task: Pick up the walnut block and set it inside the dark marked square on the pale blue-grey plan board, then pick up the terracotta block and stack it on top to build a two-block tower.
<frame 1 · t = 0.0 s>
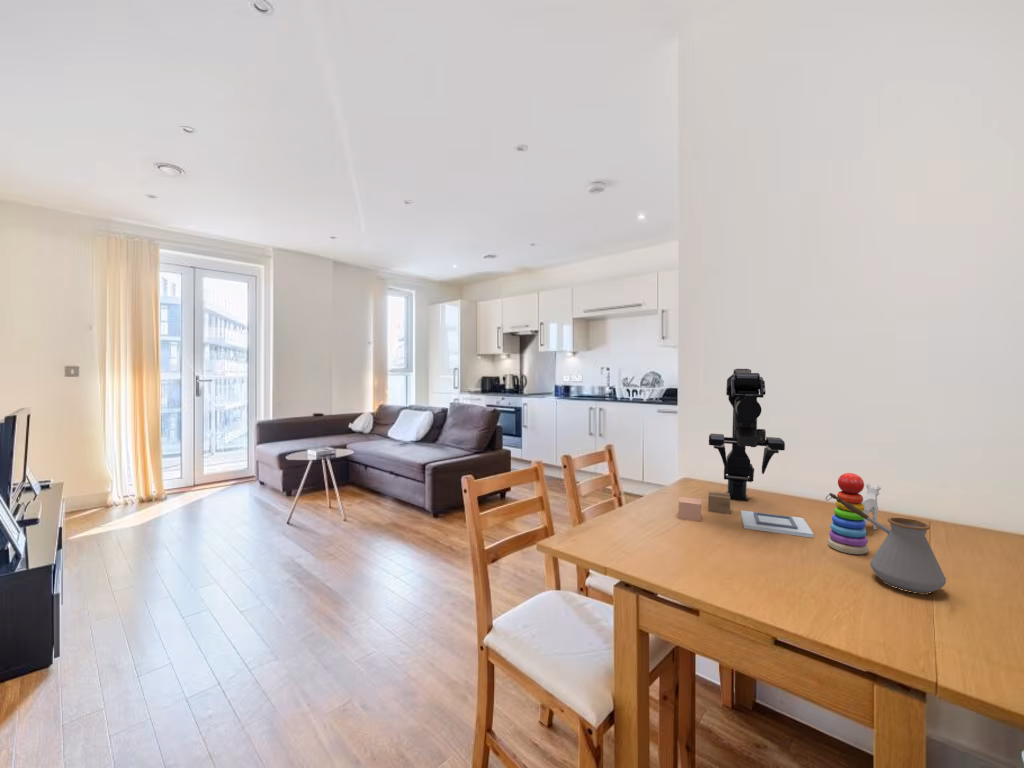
hand: (744, 471, 125), 15 cm above the table, tool pointing down, fingers open, 9 cm apart
stacking toy: (847, 549, 107), on the table
terracotta block: (689, 517, 130), on the table
coffee pot: (877, 575, 94), on the table
plan board: (774, 524, 124), on the table
cat figurine: (860, 531, 120), on the table
walnut block: (718, 510, 137), on the table
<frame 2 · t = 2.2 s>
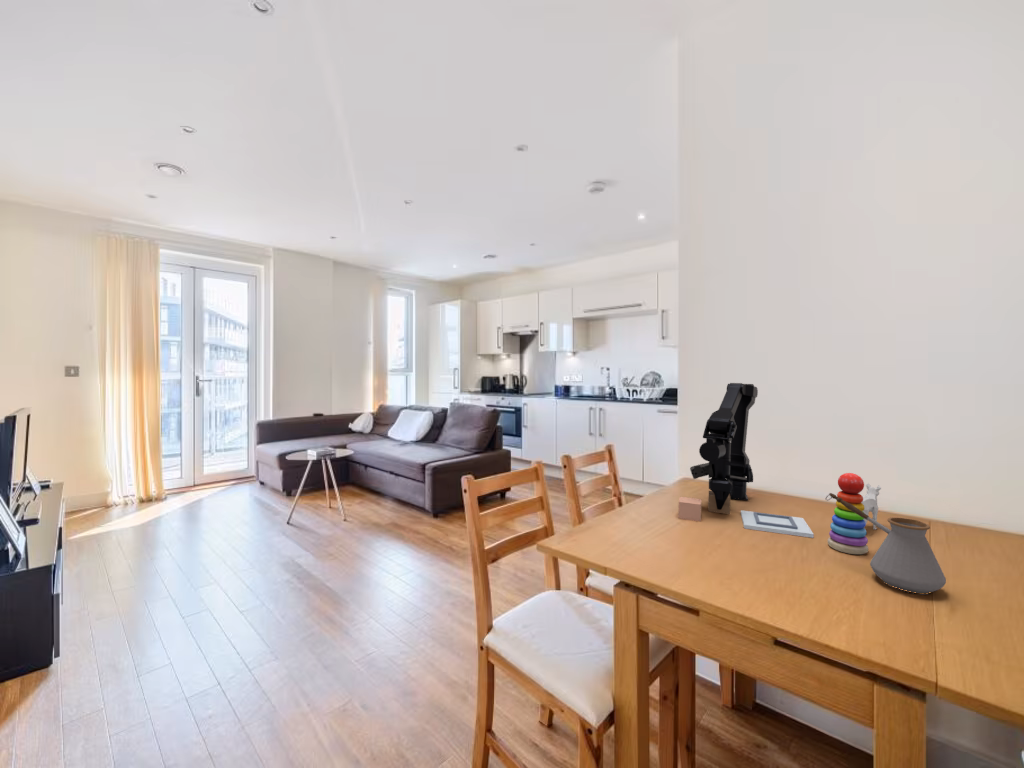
hand: (718, 506, 137), 1 cm above the table, tool pointing down, fingers closed on walnut block, 6 cm apart
walnut block: (718, 509, 137), on the table, touching gripper
everything else where it was.
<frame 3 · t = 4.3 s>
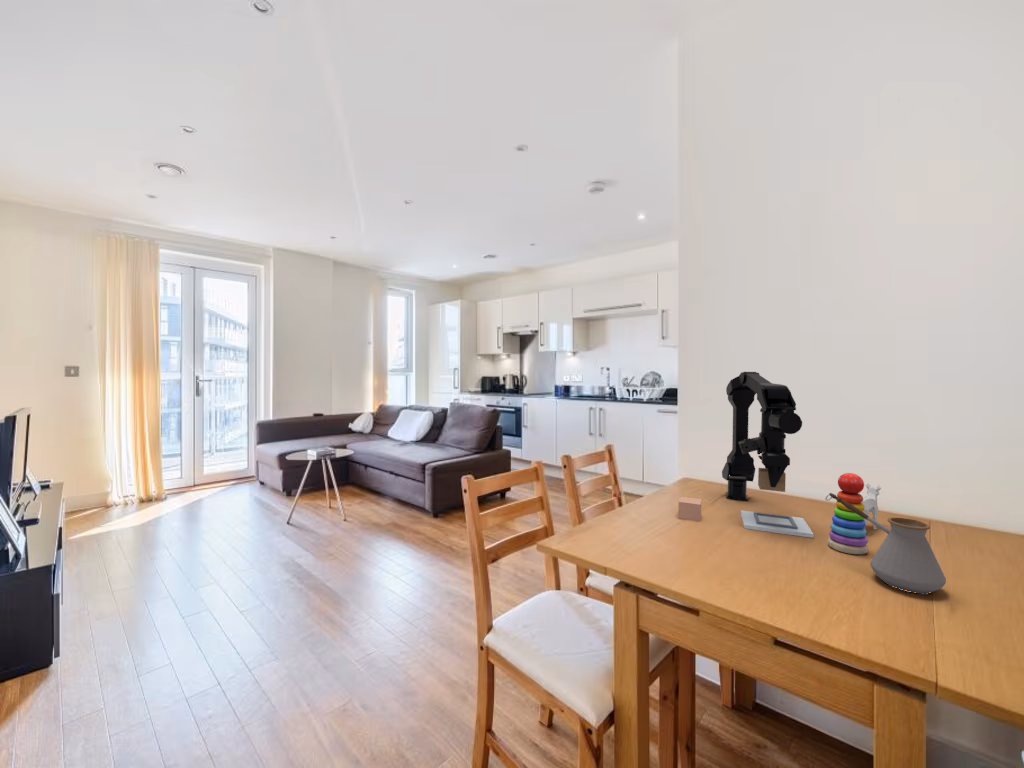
hand: (771, 484, 124), 11 cm above the table, tool pointing down, fingers closed on walnut block, 6 cm apart
walnut block: (771, 488, 124), point 10 cm above the table, touching gripper
everything else where it was.
when the fingers open (3 cm above the table, at t = 6.3 s): walnut block drops 1 cm, resting on plan board.
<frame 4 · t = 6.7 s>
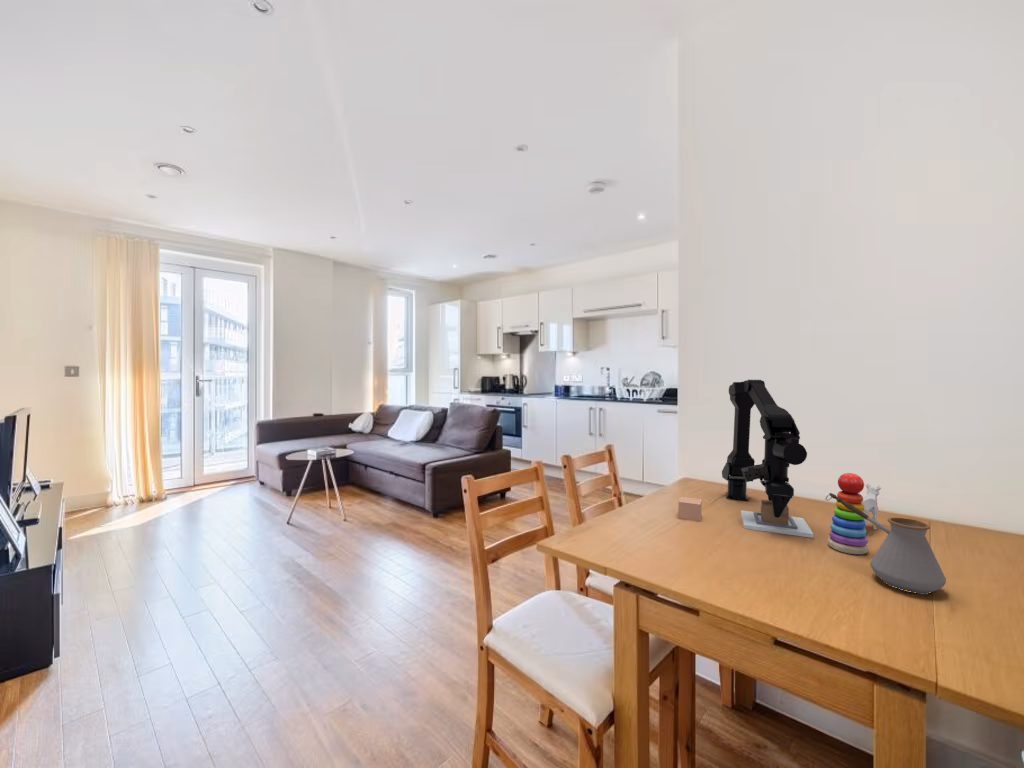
hand: (774, 512, 124), 3 cm above the table, tool pointing down, fingers open, 9 cm apart
walnut block: (774, 521, 124), point 1 cm above the table, touching plan board
everything else where it was.
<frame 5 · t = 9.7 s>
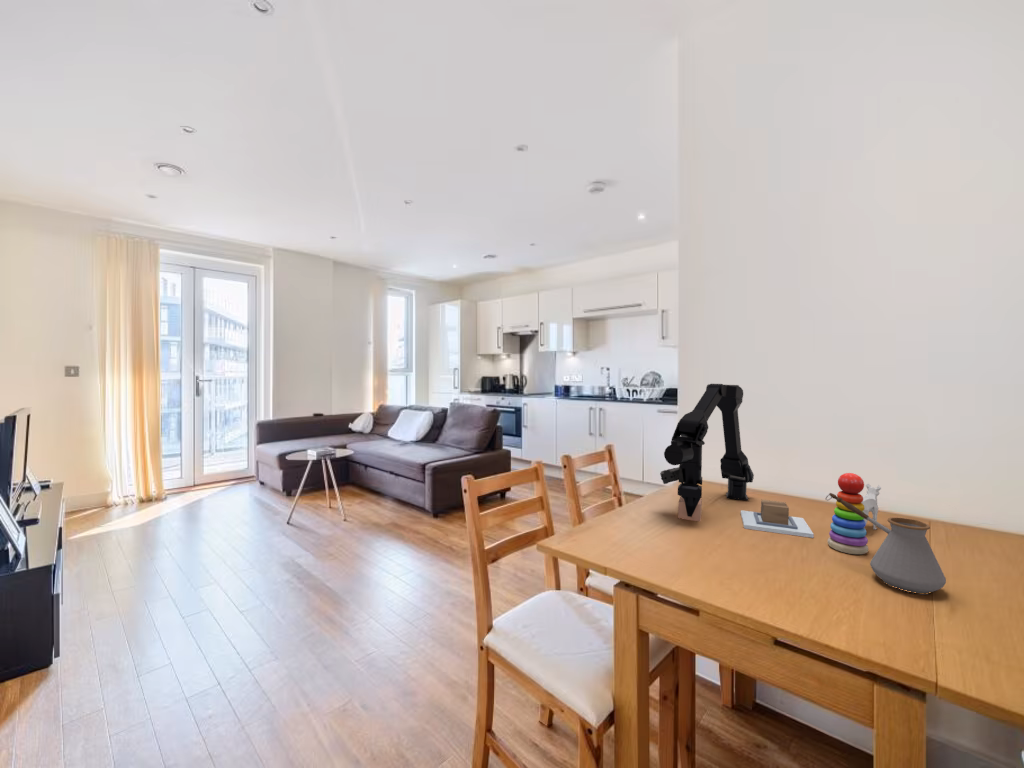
hand: (690, 513, 130), 1 cm above the table, tool pointing down, fingers closed on terracotta block, 6 cm apart
terracotta block: (689, 517, 130), on the table, touching gripper
everything else where it was.
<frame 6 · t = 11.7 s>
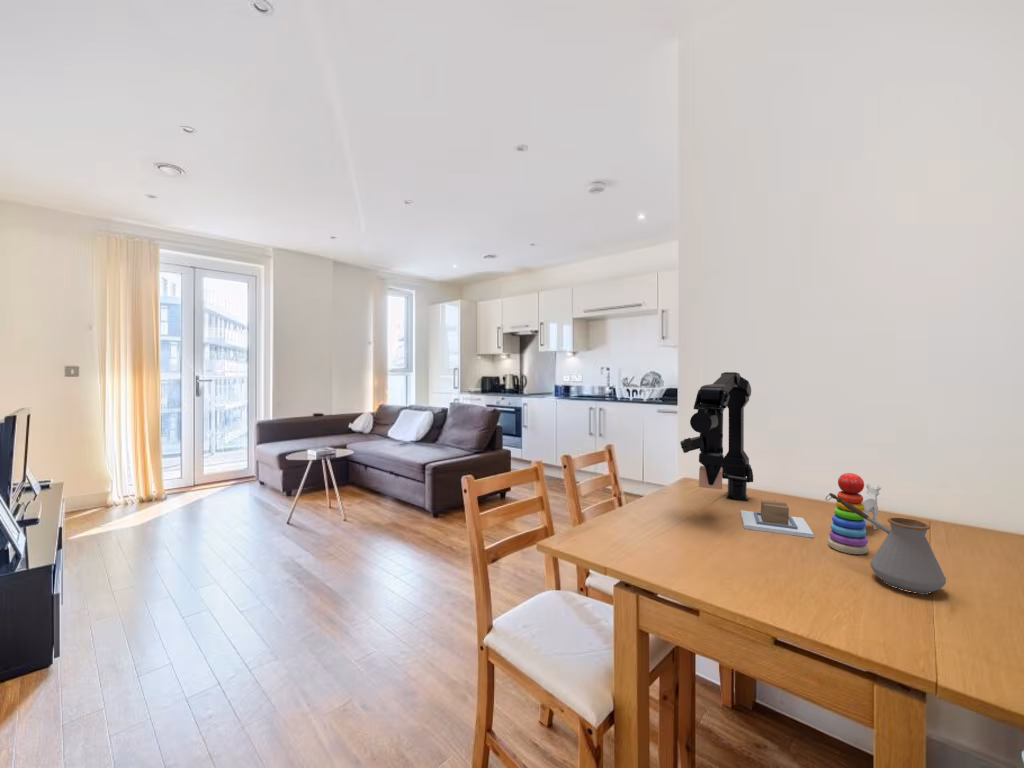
hand: (710, 482, 128), 11 cm above the table, tool pointing down, fingers closed on terracotta block, 6 cm apart
terracotta block: (710, 485, 129), point 10 cm above the table, touching gripper
everything else where it was.
when the fingers open (8 cm above the table, at t = 13.7 s): terracotta block drops 1 cm, resting on walnut block.
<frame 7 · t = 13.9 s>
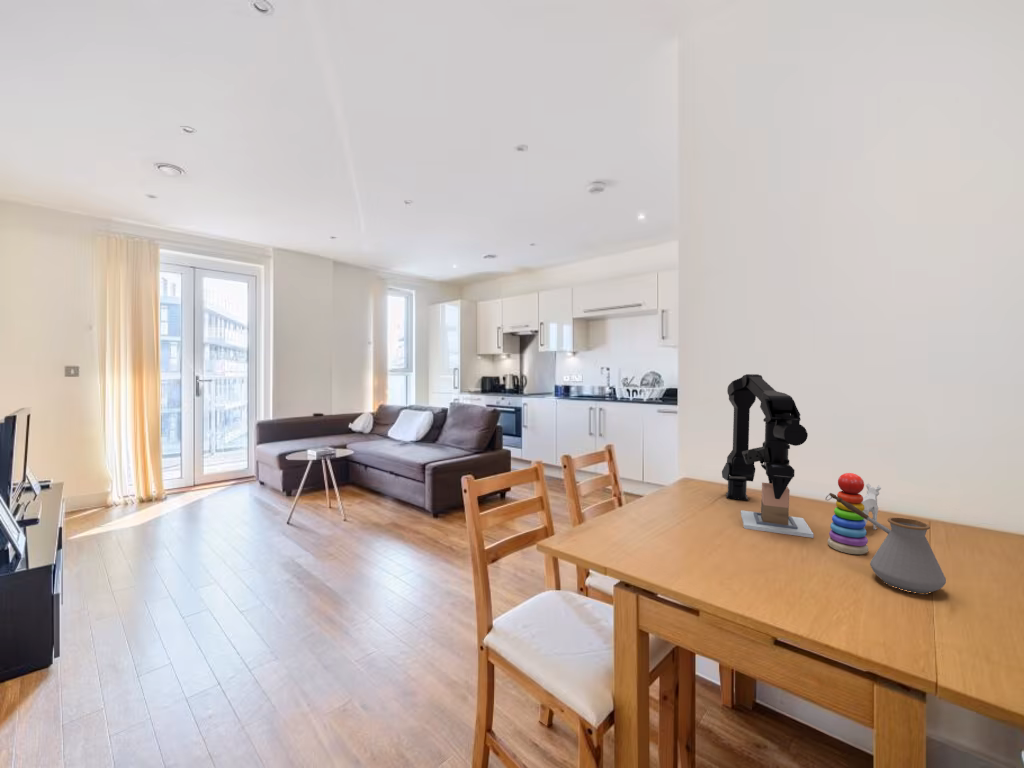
hand: (775, 494, 124), 8 cm above the table, tool pointing down, fingers open, 8 cm apart
terracotta block: (774, 503, 124), point 6 cm above the table, touching walnut block
walnut block: (774, 521, 124), point 1 cm above the table, touching plan board, terracotta block
everything else where it was.
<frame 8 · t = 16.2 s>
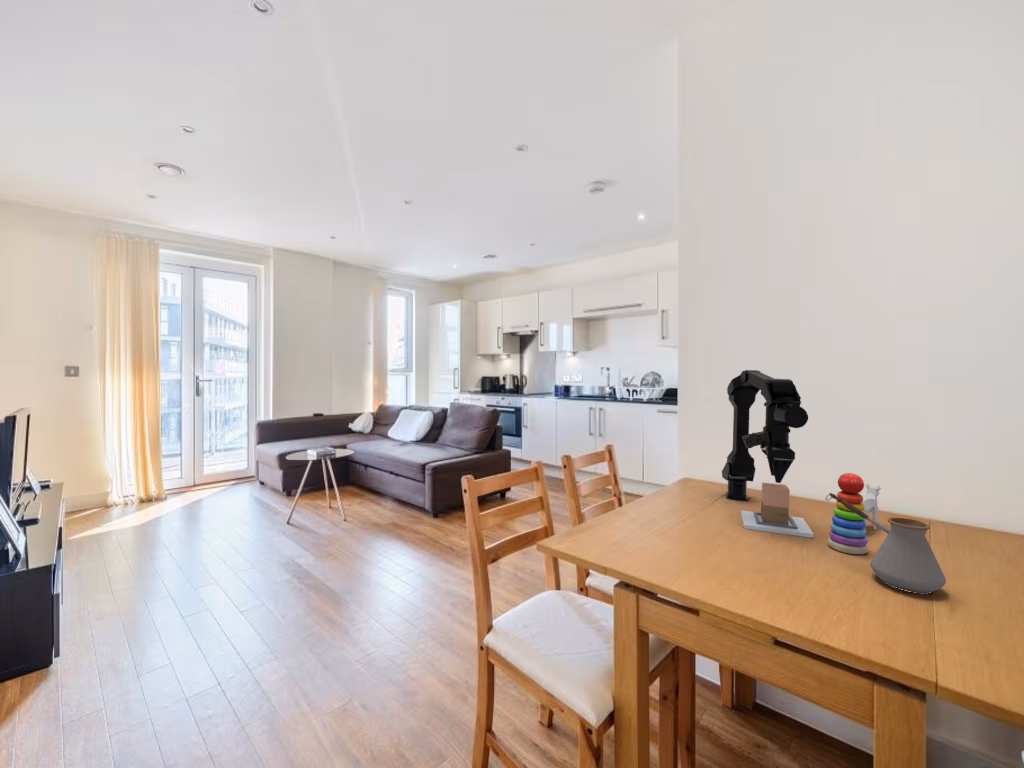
hand: (775, 479, 123), 13 cm above the table, tool pointing down, fingers open, 9 cm apart
nothing on the table moved.
at the end: walnut block 0.1 cm off-centre on the plan board, point 1.0 cm above the plan board's base; terracotta block 0.0 cm off-centre on the walnut block, point 5.0 cm above the walnut block's base; terracotta block tilted 0° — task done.
